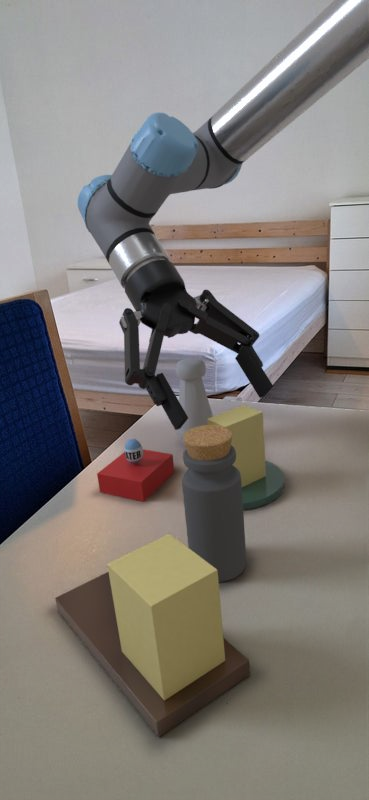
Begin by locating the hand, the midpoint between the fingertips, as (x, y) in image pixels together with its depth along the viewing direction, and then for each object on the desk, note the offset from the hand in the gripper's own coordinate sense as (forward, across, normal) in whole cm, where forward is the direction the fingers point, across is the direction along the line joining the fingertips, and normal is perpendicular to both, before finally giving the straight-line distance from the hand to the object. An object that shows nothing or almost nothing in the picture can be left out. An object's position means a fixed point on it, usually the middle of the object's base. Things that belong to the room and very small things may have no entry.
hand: (226, 407), depth 74 cm
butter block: (+21, +24, +8) cm, 33 cm away
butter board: (+19, +24, +4) cm, 30 cm away
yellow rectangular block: (+8, 0, -6) cm, 10 cm away
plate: (+8, 0, -7) cm, 11 cm away
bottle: (+16, +12, +1) cm, 20 cm away
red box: (+1, +9, -14) cm, 17 cm away
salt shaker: (-1, -4, -17) cm, 17 cm away
